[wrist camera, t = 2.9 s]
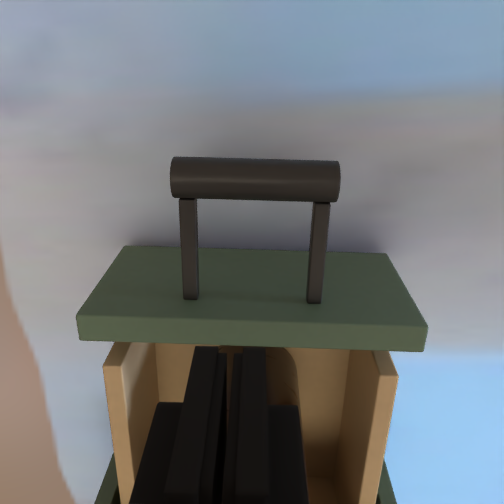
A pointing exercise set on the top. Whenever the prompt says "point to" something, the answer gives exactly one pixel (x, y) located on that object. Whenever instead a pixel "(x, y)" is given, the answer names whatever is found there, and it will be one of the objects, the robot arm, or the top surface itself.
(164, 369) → the drawer
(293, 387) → the pepper mill
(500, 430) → the top surface
